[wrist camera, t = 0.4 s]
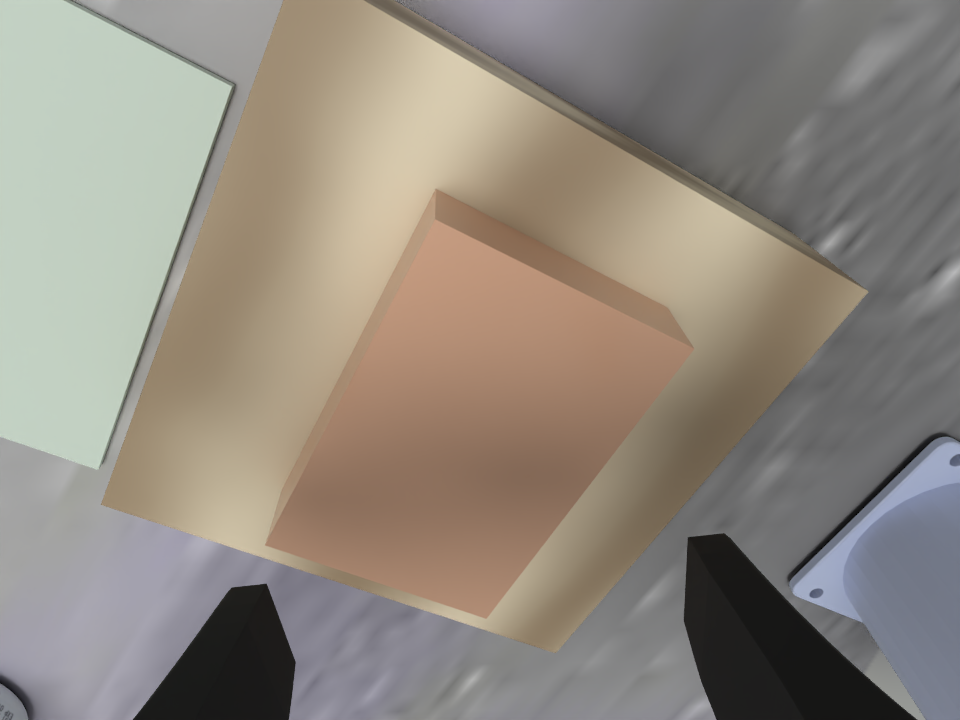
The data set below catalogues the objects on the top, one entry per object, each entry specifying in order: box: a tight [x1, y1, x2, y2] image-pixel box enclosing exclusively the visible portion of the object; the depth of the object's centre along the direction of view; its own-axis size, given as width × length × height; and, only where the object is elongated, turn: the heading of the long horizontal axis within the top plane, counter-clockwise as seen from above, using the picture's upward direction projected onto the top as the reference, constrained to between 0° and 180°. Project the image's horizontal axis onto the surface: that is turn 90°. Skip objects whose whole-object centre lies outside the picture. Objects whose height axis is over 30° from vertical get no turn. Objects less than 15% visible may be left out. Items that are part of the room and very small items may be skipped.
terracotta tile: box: [265, 189, 694, 619], centre depth 16 cm, size 6×9×2 cm, turn 152°
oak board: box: [101, 0, 869, 653], centre depth 19 cm, size 14×14×4 cm
